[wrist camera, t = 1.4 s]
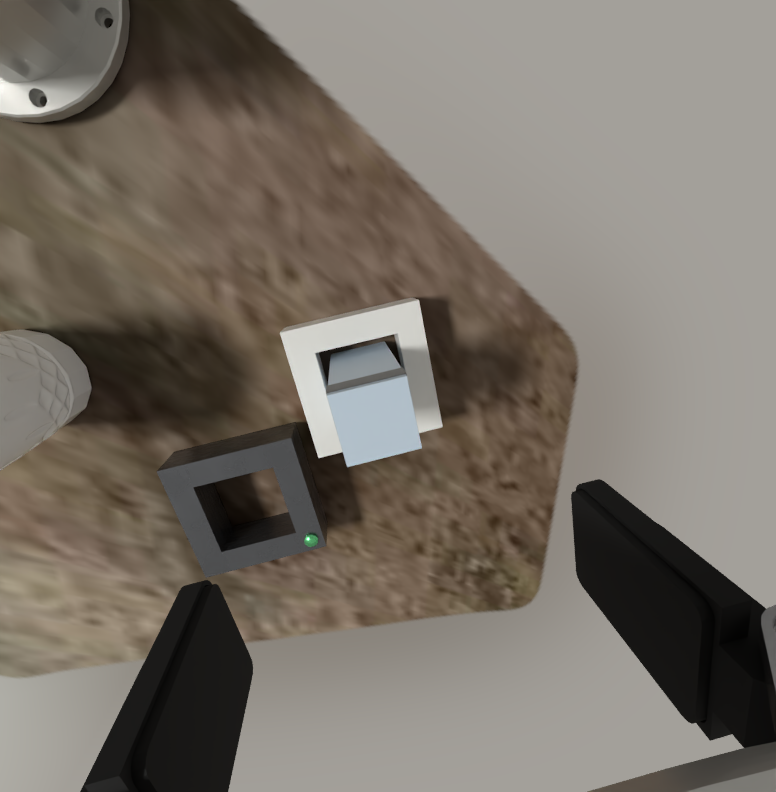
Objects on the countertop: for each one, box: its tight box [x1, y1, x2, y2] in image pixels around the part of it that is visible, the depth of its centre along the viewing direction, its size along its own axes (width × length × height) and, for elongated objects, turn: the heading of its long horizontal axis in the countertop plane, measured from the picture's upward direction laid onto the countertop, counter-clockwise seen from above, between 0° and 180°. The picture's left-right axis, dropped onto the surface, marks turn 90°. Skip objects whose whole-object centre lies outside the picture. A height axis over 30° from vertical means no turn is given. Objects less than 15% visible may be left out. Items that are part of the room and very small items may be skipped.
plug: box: [326, 341, 422, 467], centre depth 25 cm, size 4×4×10 cm
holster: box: [280, 298, 443, 458], centre depth 28 cm, size 9×9×2 cm
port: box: [157, 422, 327, 577], centre depth 29 cm, size 9×9×3 cm
